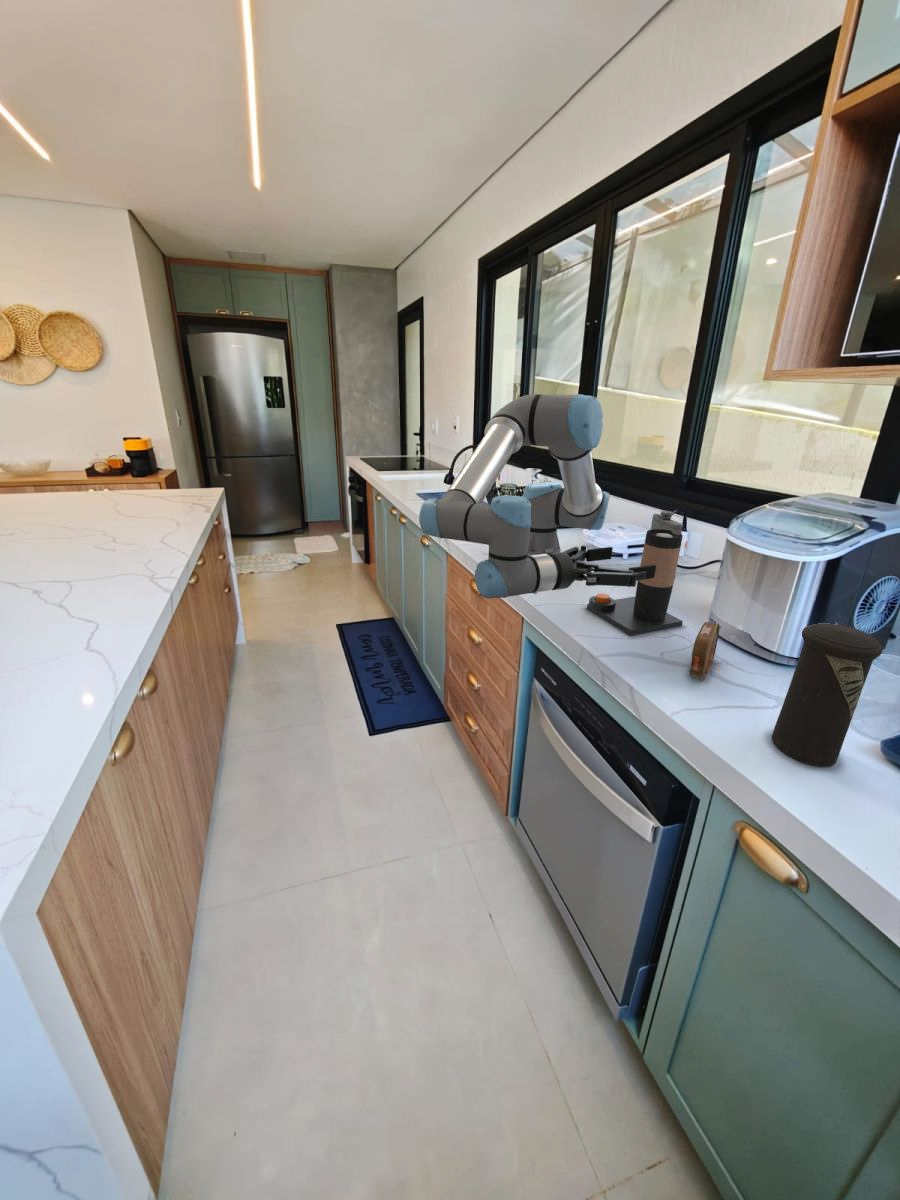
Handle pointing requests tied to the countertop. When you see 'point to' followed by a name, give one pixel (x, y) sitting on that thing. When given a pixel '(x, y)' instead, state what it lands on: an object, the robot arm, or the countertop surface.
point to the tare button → (602, 598)
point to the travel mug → (657, 574)
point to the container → (824, 692)
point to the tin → (704, 650)
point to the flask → (666, 522)
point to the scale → (629, 616)
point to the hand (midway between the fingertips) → (631, 561)
